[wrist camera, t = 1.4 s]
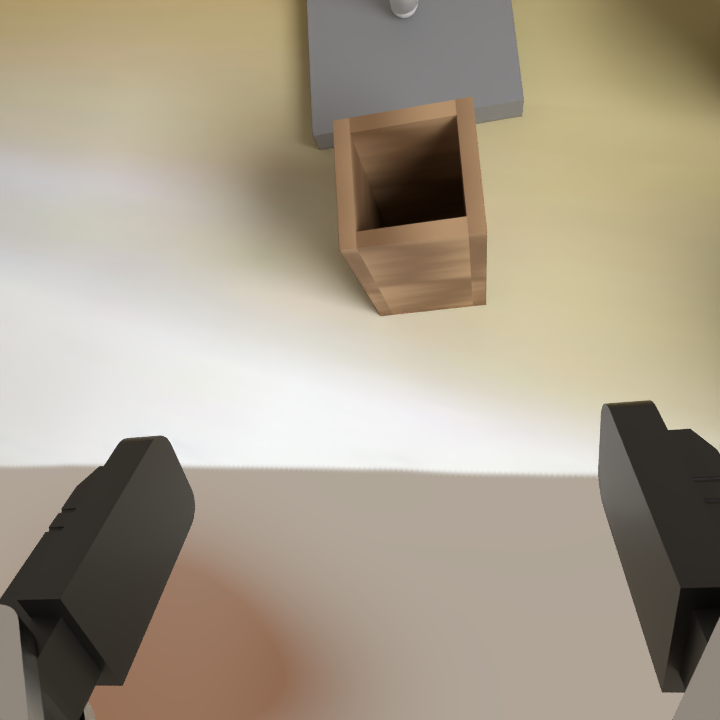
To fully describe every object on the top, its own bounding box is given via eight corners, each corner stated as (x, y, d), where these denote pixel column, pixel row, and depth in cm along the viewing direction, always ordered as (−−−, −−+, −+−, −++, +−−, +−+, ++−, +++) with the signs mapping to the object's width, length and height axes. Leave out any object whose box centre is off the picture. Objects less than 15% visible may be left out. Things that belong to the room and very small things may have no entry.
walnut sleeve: (475, 206, 34) (472, 96, 24) (485, 304, 32) (487, 230, 23) (374, 220, 35) (332, 120, 25) (381, 316, 33) (339, 250, 24)
